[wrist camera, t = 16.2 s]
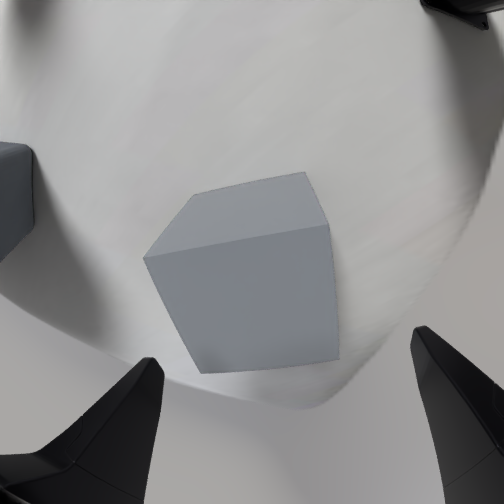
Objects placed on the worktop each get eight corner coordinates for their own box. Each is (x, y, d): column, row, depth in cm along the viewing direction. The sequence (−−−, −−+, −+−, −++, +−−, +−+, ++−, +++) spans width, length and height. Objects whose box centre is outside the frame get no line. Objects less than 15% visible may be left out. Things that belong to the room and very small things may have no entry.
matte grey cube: (304, 171, 18) (328, 224, 10) (320, 270, 22) (339, 359, 14) (193, 194, 19) (142, 257, 12) (223, 286, 23) (200, 373, 15)
